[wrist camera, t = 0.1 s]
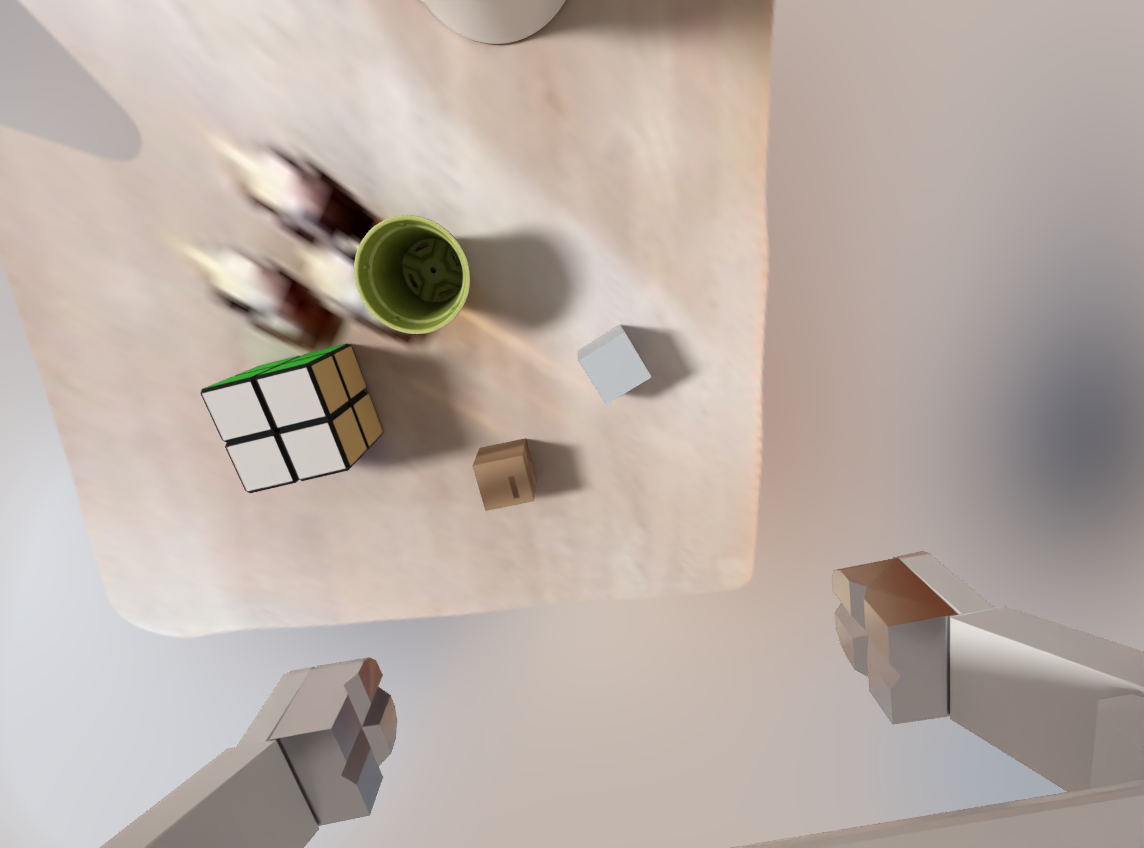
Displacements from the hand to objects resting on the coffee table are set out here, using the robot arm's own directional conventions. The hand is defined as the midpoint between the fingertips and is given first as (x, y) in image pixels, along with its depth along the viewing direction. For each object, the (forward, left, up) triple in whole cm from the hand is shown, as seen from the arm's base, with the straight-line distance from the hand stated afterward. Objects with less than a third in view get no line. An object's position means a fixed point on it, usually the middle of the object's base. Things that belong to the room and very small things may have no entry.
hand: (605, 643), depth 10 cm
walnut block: (+14, -10, -48) cm, 51 cm away
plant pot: (-7, -12, -48) cm, 50 cm away
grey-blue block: (+5, +3, -48) cm, 48 cm away
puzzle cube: (+3, -27, -48) cm, 55 cm away
